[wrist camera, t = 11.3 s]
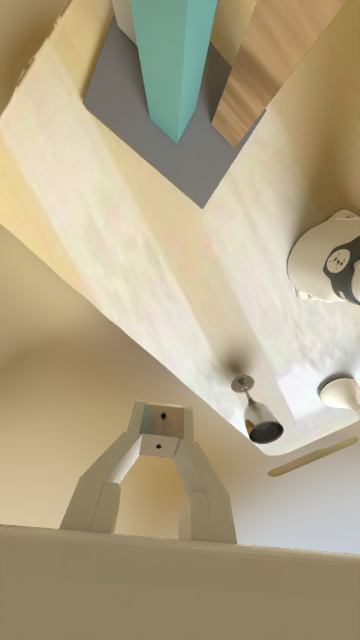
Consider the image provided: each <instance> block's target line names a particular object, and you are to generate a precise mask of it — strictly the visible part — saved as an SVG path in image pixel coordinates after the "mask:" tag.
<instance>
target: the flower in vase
mask: <svg viewBox="0 0 360 640" xmlns="http://www.w3.org/2000/svg"><path fill="white" fill-rule="evenodd" d="M359 392H360V388H359V385H358V383H357V382H356V381H355V380H353V379H349V378H340V379H337V380H334V381H332V382H330V383H329V384H327V385H326V386H325V387H324V388H323V389H322V391H321V393H320V399H321V401H322V403H324V404H325V405H327V406H330V407H338V408H348V409H350V410H352V411H353V412H354V413H355V414H356V415H357V416H358V417H359V418H360V406H359V404H358V397H359Z"/></svg>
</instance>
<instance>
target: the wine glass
mask: <svg viewBox="0 0 360 640" xmlns="http://www.w3.org/2000/svg"><path fill="white" fill-rule="evenodd" d="M253 386H254V379H253V378H252V377H250V376H240V377H238V378H236V379H235V380H234V381H233V382H232V384H231V388H232V390H233V391H234V392H236V393H246V396H247V399H248V403H247V406H246V408H245V410H244V423H245V427H246V430H247V433H248V435H249V438H250V440H251V441H252V442H254V443H257V444H267V443H271V442H273V441H275V440H277V439H278V438H280V437H281V435H282V434H283V431H284V429H283V426H282V425H281V423H280V421H279V420H278V418H277V417H276V415H275V414H274V413H273V411H272V410H271V409H270V408H269V407H268V406H267V405H265V404H263V403H260V402H257V401H255V400H253V399H252V398H251V396H250V395H249V393H248V391H250V390H251V389H252V388H253Z"/></svg>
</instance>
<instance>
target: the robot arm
mask: <svg viewBox="0 0 360 640" xmlns="http://www.w3.org/2000/svg"><path fill="white" fill-rule="evenodd" d="M287 271H288V276H289V279H290V281H291V282H292V284H293V285H294V286H295V288H296V293H297V297H298V299H301V300H323V301H326V302H332V301H345V300H346V301H347V302H350V303H352V304H355V305H356V304H357V305H360V217H359V216H357V215H356V214H354V213H352V212H350V211H349V210H339V211H337V212H336V213H335V214H334V215H333V216H331V217H330V218H329V219H328V220H327V221H325V222H323V223H321V224H319V225H317V226H315V227H313V228H311V229H310V230H308V231H307V232H306V233H305V234H304V235H303V236H302V237H301V238H300V239H299V240H298V241H297V243H296V244H295V245H294V247H293V249H292V251H291V253H290V256H289V259H288V265H287ZM139 455H148V456H159V457H164V458H171V459H173V461H174V464H175V466H176V469H177V471H178V474H179V476H180V479H181V482H182V484H183V487H184V489H185V492H186V494H187V497H188V501H187V503H186V504H185V506H184V508H183V510H182V512H181V513H180V515H179V532H178V537H179V538H178V539H170V538H159V537H146V536H135V535H123V534H114V530H115V526H116V521H117V516H118V511H119V501H120V490H121V488H120V486H119V483H120V482H121V480H122V479H123V477H124V476H125V475H126V473H127V471H128V470H129V469H130V468H131V466H132V465H133V464H134V462H135V461H136V459H137V458H138V457H139ZM0 640H360V554H348V553H337V552H325V551H313V550H300V549H290V548H277V547H266V546H253V545H242V544H237V540H236V534H235V527H234V522H233V516H232V509H231V503H230V497H229V493H228V492H227V490H226V488H225V487H224V485H223V483H222V482H221V480H220V478H219V477H218V475H217V473H216V472H215V470H214V468H213V466H212V465H211V463H210V461H209V460H208V458H207V456H206V454H205V453H204V451H203V449H202V448H201V446H200V444H199V443H198V441H195V435H194V416H193V408H192V407H185V406H180V405H172V404H162V403H155V402H150V401H144V400H136V401H135V405H134V408H133V412H132V416H131V419H130V423H129V427H128V430H127V432H123V433H122V434H121V435H120V436H119V438H118V439H117V440H116V441H115V442H114V443H113V444H112V445H111V446H110V447H109V448H108V449H107V450H106V451H105V452H104V453H103V454H102V455H101V456H100V457H99V458H98V459H97V461H96V462H95V463H94V464H93V465H92V466H91V467H90V468H89V469H88V470H87V471H86V472H85V473H84V474H83V475H82V476H81V477H80V479H79V482H78V484H77V486H76V489H75V491H74V494H73V496H72V498H71V501H70V503H69V506H68V508H67V511H66V513H65V516H64V518H63V520H62V523H61V525H60V528H59V529H52V528H39V527H28V526H16V525H4V524H0Z"/></svg>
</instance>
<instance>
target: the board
mask: <svg viewBox="0 0 360 640" xmlns="http://www.w3.org/2000/svg"><path fill="white" fill-rule="evenodd" d="M231 70H232V68H231V67H230V65H229V64H228V63H227V62H226V60H225V59H224V58H223V57H222V56H221V54H220V53H219V52H218V51H217V49H216V48H215V47H214V46H213V45H212V43H211V42H210V41H209V46H208V51H207V56H206V60H205V65H204V70H203V75H202V80H201V85H200V90H199V95H198V100H197V104H196V109H195V111H194V113H193V115H192V117H191V119H190V120H189V122H188V124H187V126H186V128H185V130H184V132H183V134H182V135H181V137H180V139H179V141H178V143H177V144H176V143H175V142H174V141H173V140H172V139H171V138H170V137H169V136H168V135H167V134H166V133H165V132H164V131H162V130H161V129H160V128H159V127H158V126H157V125H156V124H155V123H154V122H153V121H152V120H151V119H150V115H149V109H148V104H147V98H146V92H145V86H144V81H143V75H142V69H141V63H140V58H139V52H138V47H137V46H136V45H135V44H134V43H133V41H132V40H131V39H130V38H129V37H128V36H127V35H126V34H125V33H124V32H123V31H122V30H121V29H120V28H119V27H118V24H117V20H116V16H115V13H114V16H113V19H112V21H111V24H110V27H109V30H108V33H107V36H106V39H105V41H104V44H103V47H102V50H101V53H100V56H99V59H98V61H97V64H96V67H95V70H94V73H93V76H92V79H91V81H90V84H89V87H88V90H87V93H86V96H85V99H84V101H83V104H84V106H85V107H86V109H87V110H88V111H89V112H90V113H92V114H93V115H94V116H95V117H96V118H97V119H99V120H100V121H101V122H102V123H103V124H104V125H105V126H107V127H108V128H109V129H110V130H111V131H112V132H114V133H115V134H116V135H117V136H118V137H119V138H120V139H122V140H123V141H124V142H125V143H126V144H127V145H129V146H130V147H131V148H132V149H133V150H134V151H136V152H137V153H138V154H139V155H140V156H141V157H142V158H144V159H145V160H146V161H147V162H148V163H149V164H151V165H152V166H153V167H154V168H155V169H156V170H158V171H159V172H160V173H161V174H162V175H163V176H164V177H166V178H167V179H168V180H169V181H170V182H171V183H173V184H174V185H175V186H176V187H177V188H178V189H180V190H181V191H182V192H183V193H184V194H185V195H186V196H188V197H189V198H190V199H191V200H192V201H193V202H195V203H196V204H197V205H198V206H199V207H200V208H202V209H203V208H204V206H205V205H206V203H207V202H208V200H209V198H210V197H211V195H212V194H213V192H214V191H215V189H216V188H217V186H218V185H219V183H220V181H221V180H222V178H223V177H224V175H225V174H226V172H227V171H228V169H229V168H230V166H231V164H232V163H233V161H234V160H235V158H236V157H237V155H238V154H239V152H240V151H241V149H242V147H243V146H244V144H245V143H246V141H247V140H248V138H249V137H250V135H251V134H252V132H253V130H254V129H255V127H256V126H257V124H258V123H259V121H260V120H261V118H262V117H263V115H264V113H265V112H266V109H264V110H263V112H262V113H261V114H260V116H259V117H258V118H257V120H256V121H255V122H254V124H253V125H252V126H251V128H250V129H249V130H248V132H247V133H246V134H245V135H244V137H243V138H242V139H241V141H240V142H239V143H238V145H237V146H236V147H235V149H234V148H233V147H232V146H231V145H230V144H229V143H228V141H227V140H226V139H225V138H224V137H223V136H222V135H221V134H220V133H219V132H218V131H217V130H216V129H215V128H214V127H213V126H212V125H211V123H212V121H213V118H214V115H215V113H216V110H217V107H218V105H219V102H220V99H221V97H222V94H223V91H224V89H225V86H226V83H227V81H228V78H229V75H230V73H231Z"/></svg>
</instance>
